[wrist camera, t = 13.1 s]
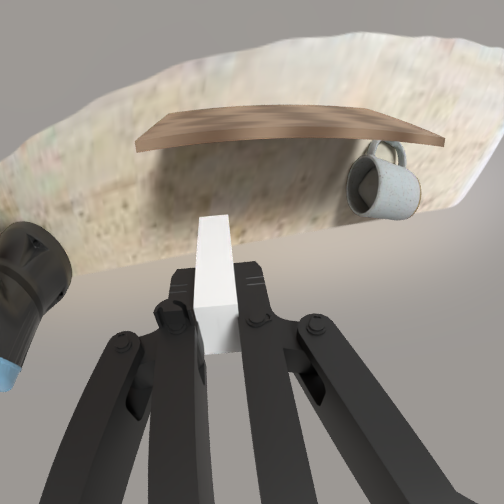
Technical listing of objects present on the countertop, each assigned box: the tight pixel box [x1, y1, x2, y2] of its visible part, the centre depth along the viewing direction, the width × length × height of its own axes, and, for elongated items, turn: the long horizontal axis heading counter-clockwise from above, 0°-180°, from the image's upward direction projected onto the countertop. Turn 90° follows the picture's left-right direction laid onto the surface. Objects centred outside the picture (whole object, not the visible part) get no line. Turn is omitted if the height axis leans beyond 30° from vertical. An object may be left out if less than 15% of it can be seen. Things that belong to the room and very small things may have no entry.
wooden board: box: [135, 105, 445, 153], centre depth 24 cm, size 24×1×15 cm, turn 92°
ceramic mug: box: [346, 140, 421, 220], centre depth 33 cm, size 11×8×8 cm
